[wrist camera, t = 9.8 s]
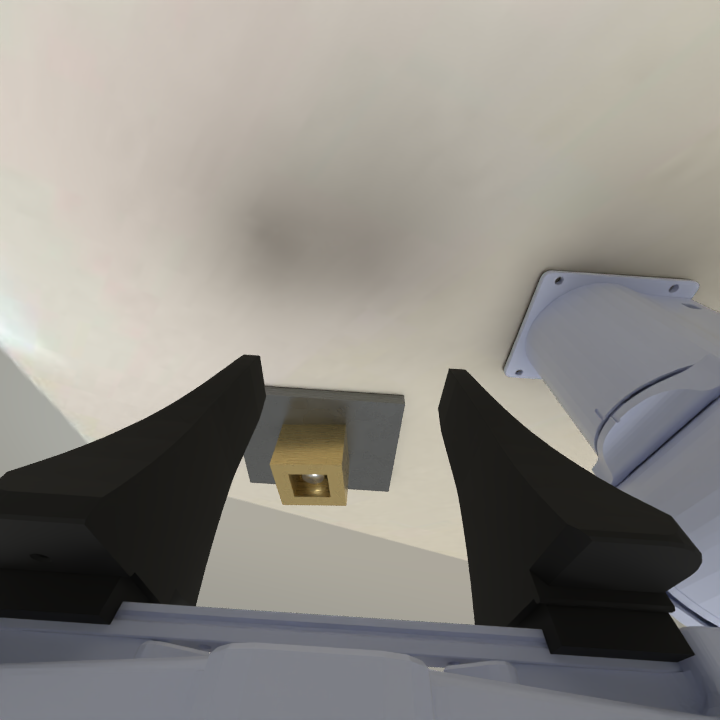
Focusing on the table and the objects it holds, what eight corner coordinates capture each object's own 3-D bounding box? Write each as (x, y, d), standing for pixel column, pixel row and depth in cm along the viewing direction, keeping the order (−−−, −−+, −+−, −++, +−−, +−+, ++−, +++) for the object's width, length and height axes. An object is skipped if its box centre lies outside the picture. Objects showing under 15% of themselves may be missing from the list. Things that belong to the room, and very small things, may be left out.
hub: (345, 424, 26) (341, 464, 23) (349, 465, 29) (346, 505, 26) (282, 424, 26) (269, 464, 23) (292, 464, 29) (282, 504, 26)
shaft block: (403, 395, 25) (408, 432, 22) (388, 482, 32) (389, 521, 29) (233, 384, 25) (212, 419, 22) (253, 473, 32) (239, 511, 29)
